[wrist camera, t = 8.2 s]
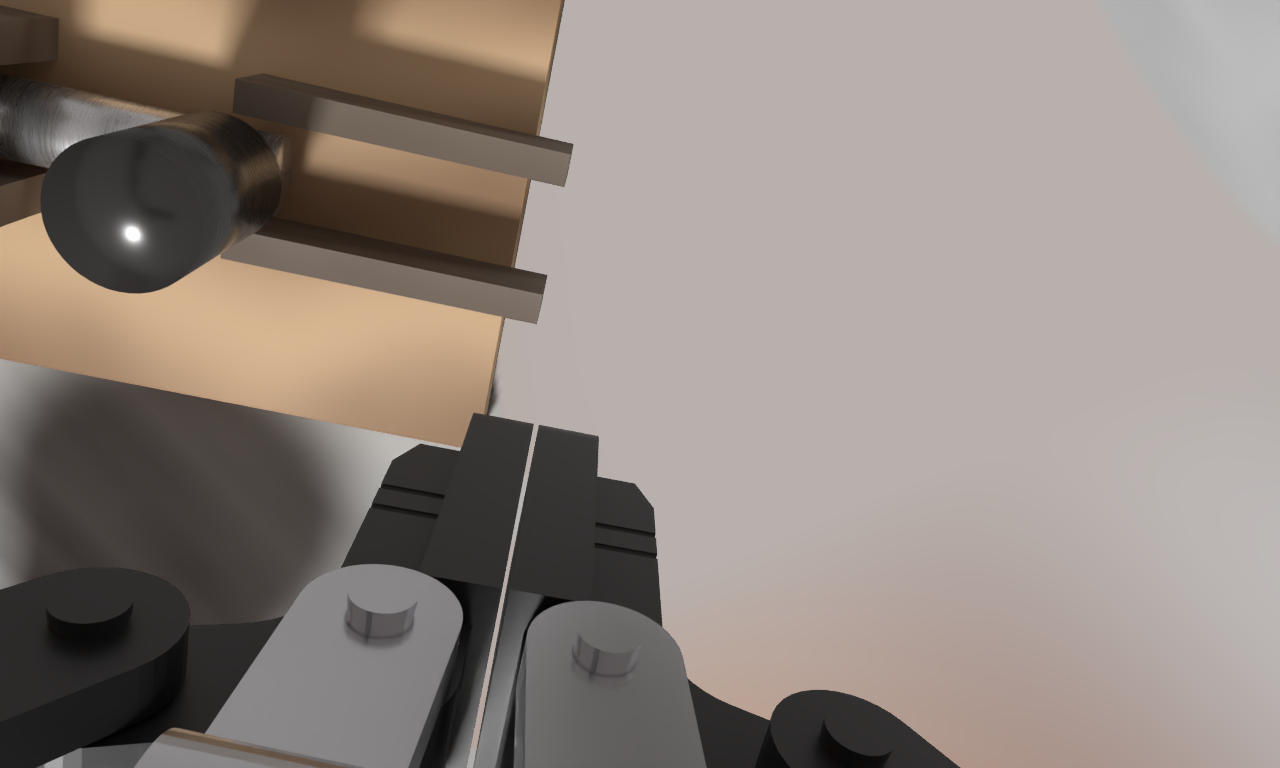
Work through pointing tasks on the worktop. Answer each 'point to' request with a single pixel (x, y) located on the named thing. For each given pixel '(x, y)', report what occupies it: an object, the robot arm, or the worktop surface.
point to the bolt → (141, 181)
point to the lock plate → (308, 202)
